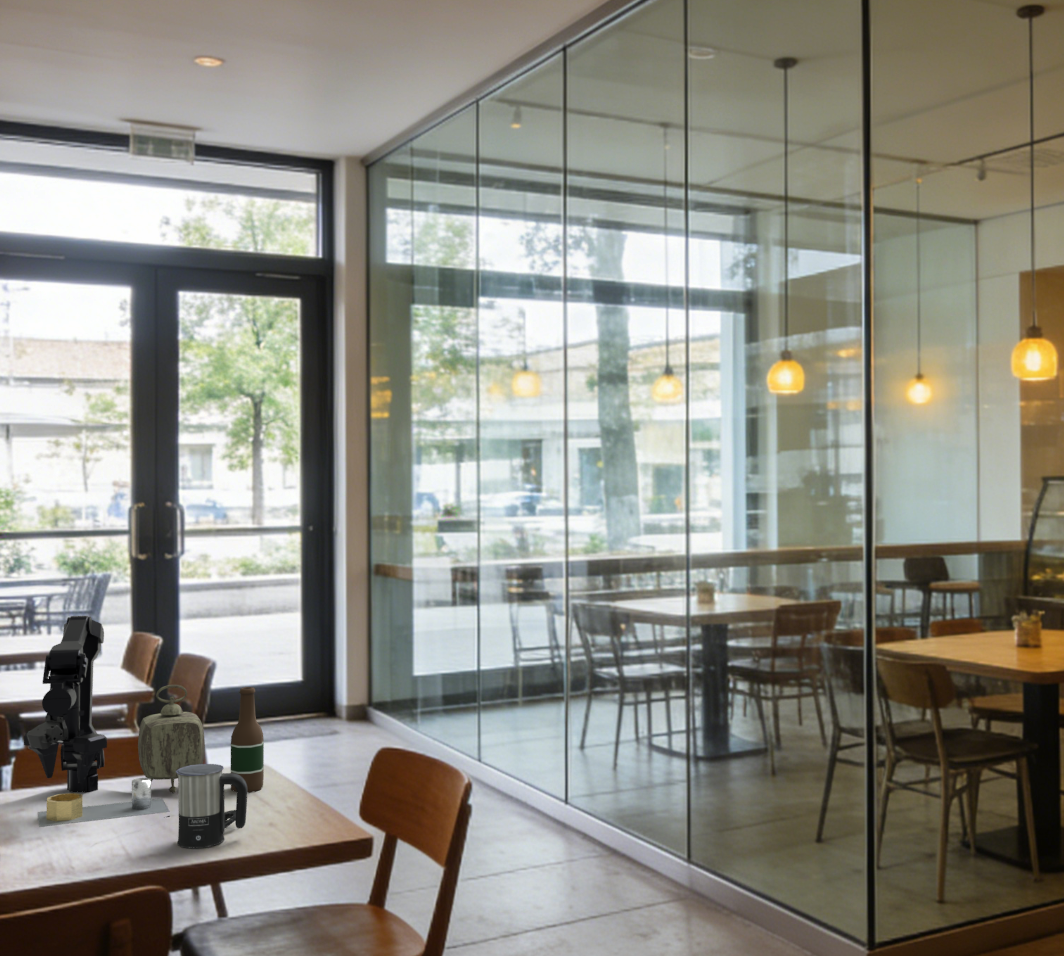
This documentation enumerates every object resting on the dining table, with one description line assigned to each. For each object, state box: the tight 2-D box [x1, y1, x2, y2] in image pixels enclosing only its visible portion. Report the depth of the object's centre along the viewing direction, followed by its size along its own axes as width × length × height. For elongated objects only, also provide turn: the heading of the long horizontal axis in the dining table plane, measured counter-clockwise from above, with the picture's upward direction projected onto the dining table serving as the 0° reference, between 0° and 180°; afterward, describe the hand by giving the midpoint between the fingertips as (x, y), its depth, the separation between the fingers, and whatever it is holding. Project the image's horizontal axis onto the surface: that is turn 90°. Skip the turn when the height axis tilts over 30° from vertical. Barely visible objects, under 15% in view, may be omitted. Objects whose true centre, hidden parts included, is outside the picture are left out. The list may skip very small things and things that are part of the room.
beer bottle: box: [230, 686, 265, 793], centre depth 267 cm, size 8×8×24 cm
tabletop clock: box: [137, 684, 206, 794], centre depth 265 cm, size 14×9×25 cm, turn 114°
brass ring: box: [46, 792, 84, 821], centre depth 240 cm, size 7×7×4 cm
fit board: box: [37, 777, 171, 828], centre depth 244 cm, size 26×12×7 cm, turn 115°
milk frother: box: [176, 763, 248, 849], centre depth 230 cm, size 14×16×15 cm
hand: (65, 780), depth 240 cm, fingers open, 9 cm apart
